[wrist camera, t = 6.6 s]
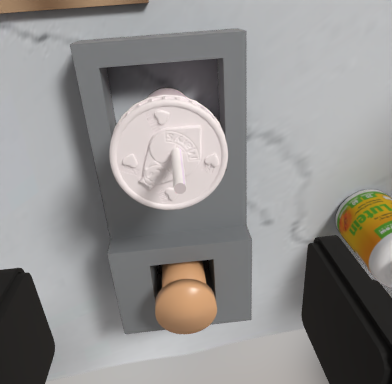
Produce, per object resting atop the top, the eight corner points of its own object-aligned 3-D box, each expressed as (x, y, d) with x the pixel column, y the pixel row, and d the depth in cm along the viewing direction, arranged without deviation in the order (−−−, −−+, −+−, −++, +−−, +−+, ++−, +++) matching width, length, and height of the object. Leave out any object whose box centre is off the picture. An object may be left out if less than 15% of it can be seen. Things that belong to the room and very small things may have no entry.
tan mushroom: (205, 231, 32) (215, 284, 26) (208, 271, 34) (218, 330, 28) (153, 236, 32) (151, 291, 26) (159, 276, 34) (158, 337, 28)
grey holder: (237, 28, 25) (253, 32, 21) (240, 281, 36) (251, 320, 31) (79, 40, 25) (61, 47, 20) (129, 293, 35) (124, 334, 31)
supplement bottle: (368, 176, 32) (444, 239, 23) (402, 209, 34) (484, 278, 25) (322, 218, 33) (377, 291, 25) (357, 247, 35) (420, 324, 27)
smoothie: (225, 109, 28) (276, 190, 16) (171, 166, 30) (177, 280, 17) (162, 49, 26) (163, 87, 13) (107, 115, 27) (62, 205, 15)
